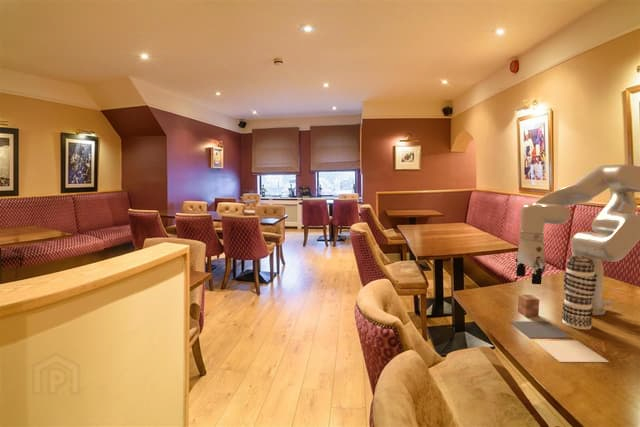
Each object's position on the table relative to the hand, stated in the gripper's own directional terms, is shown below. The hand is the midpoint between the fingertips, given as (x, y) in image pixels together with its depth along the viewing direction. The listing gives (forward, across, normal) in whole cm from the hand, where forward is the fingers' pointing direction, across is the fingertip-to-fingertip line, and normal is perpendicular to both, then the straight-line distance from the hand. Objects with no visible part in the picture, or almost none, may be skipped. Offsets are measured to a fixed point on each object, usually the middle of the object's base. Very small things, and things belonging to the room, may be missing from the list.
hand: (528, 279), depth 123 cm
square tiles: (+14, -20, +3) cm, 24 cm away
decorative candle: (+14, -9, -13) cm, 21 cm away
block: (+14, 0, -1) cm, 14 cm away
